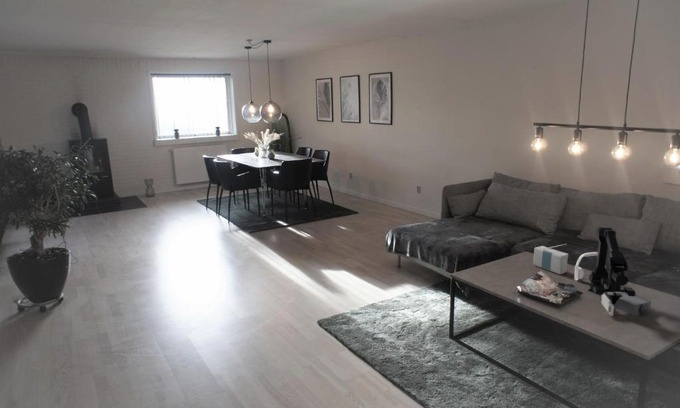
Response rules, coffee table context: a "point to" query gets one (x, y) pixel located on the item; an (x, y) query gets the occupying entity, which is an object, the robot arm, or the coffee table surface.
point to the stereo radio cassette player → (550, 259)
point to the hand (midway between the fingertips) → (612, 306)
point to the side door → (607, 304)
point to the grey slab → (632, 304)
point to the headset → (578, 270)
